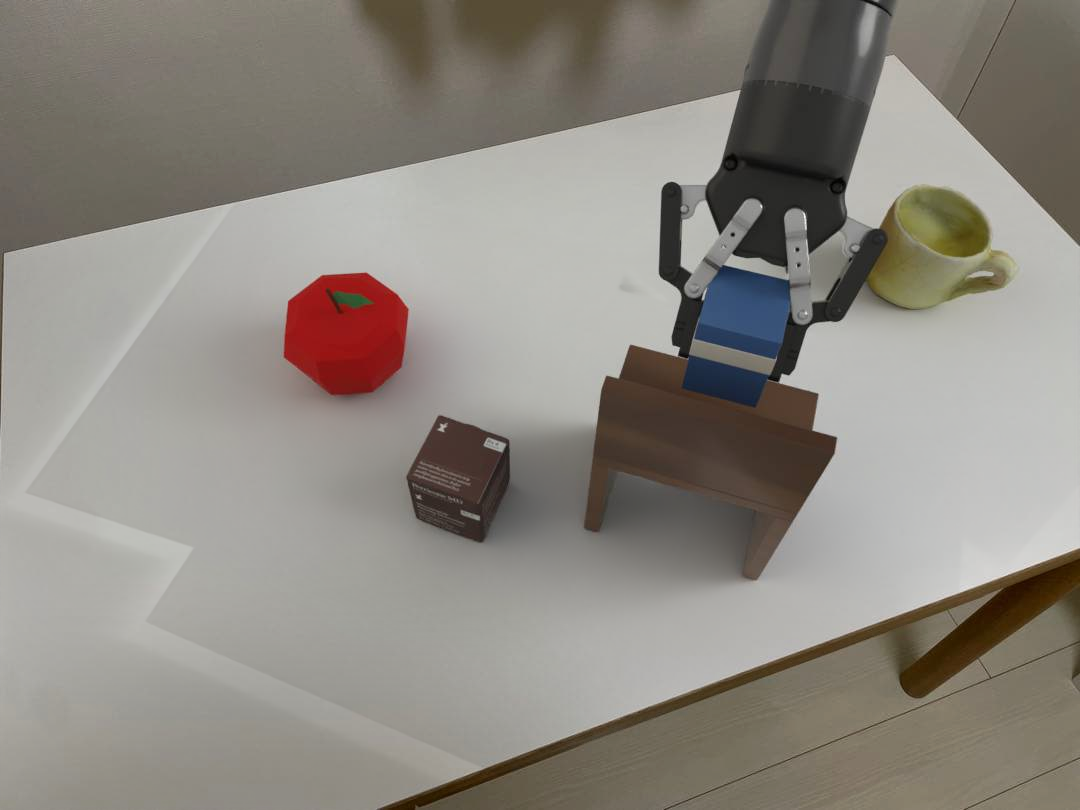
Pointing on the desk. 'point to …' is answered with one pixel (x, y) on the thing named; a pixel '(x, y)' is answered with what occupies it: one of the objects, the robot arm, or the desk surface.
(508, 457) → the box
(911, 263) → the mug
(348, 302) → the apple
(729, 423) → the chair
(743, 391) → the carton
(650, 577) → the desk surface
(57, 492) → the desk surface
